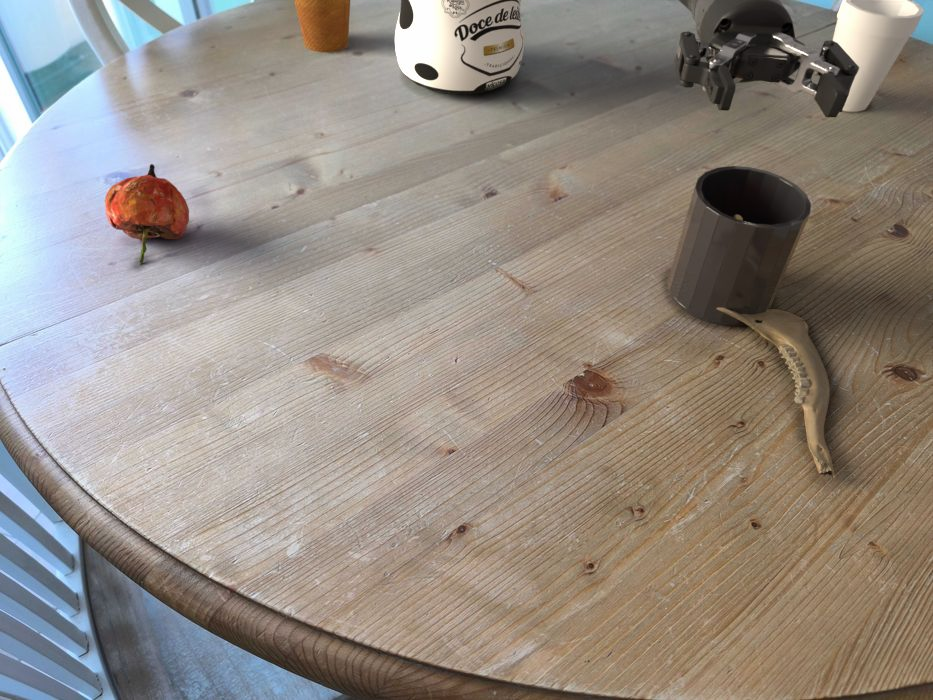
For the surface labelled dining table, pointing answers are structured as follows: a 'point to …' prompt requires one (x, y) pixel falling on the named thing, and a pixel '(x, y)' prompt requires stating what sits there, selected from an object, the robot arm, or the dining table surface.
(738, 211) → the tumbler
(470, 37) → the doce de leite jar
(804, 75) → the robot arm
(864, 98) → the foam cup
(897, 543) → the dining table surface
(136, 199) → the orange pumpkin
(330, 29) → the disposable coffee cup
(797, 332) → the jawbone
